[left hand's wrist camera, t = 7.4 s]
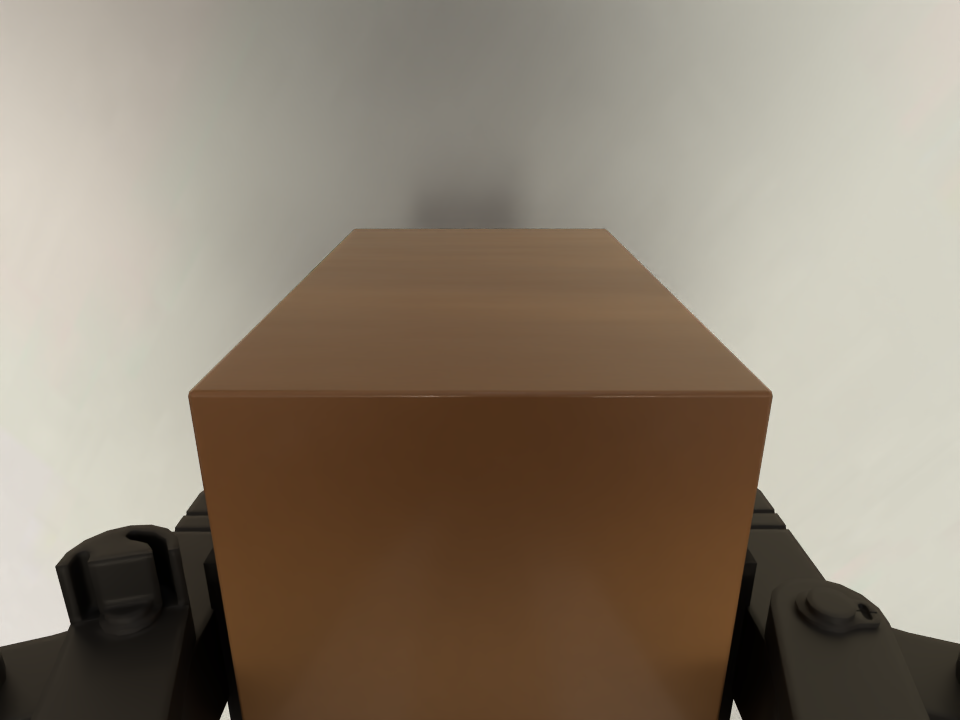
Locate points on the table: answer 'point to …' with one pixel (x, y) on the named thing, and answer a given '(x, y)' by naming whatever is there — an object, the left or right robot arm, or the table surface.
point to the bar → (480, 485)
